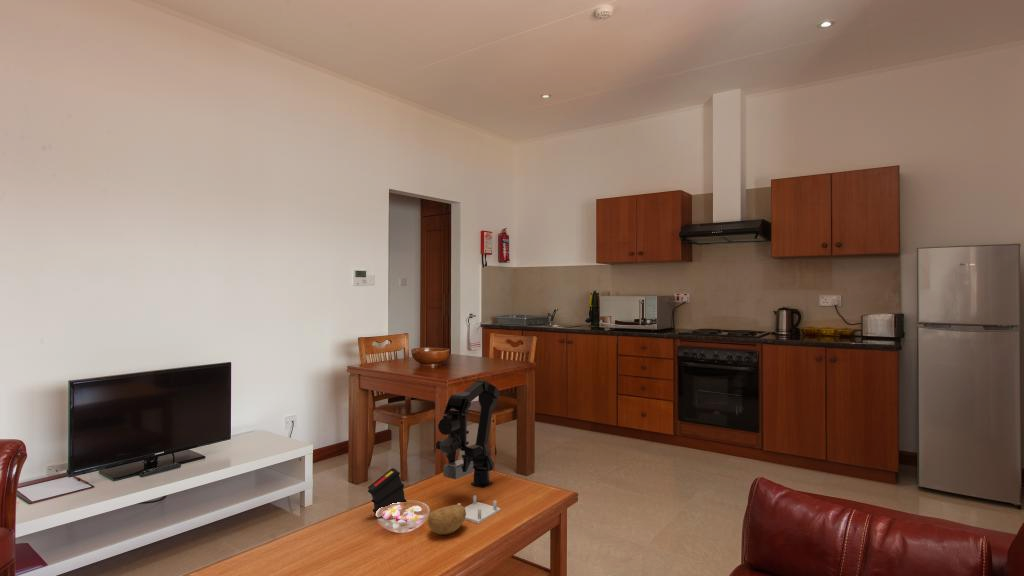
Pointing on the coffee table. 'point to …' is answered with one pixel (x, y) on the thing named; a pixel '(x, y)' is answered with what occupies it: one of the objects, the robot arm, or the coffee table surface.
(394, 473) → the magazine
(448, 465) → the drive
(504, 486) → the coffee table surface
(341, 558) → the coffee table surface
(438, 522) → the potato
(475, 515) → the white mounting plate
